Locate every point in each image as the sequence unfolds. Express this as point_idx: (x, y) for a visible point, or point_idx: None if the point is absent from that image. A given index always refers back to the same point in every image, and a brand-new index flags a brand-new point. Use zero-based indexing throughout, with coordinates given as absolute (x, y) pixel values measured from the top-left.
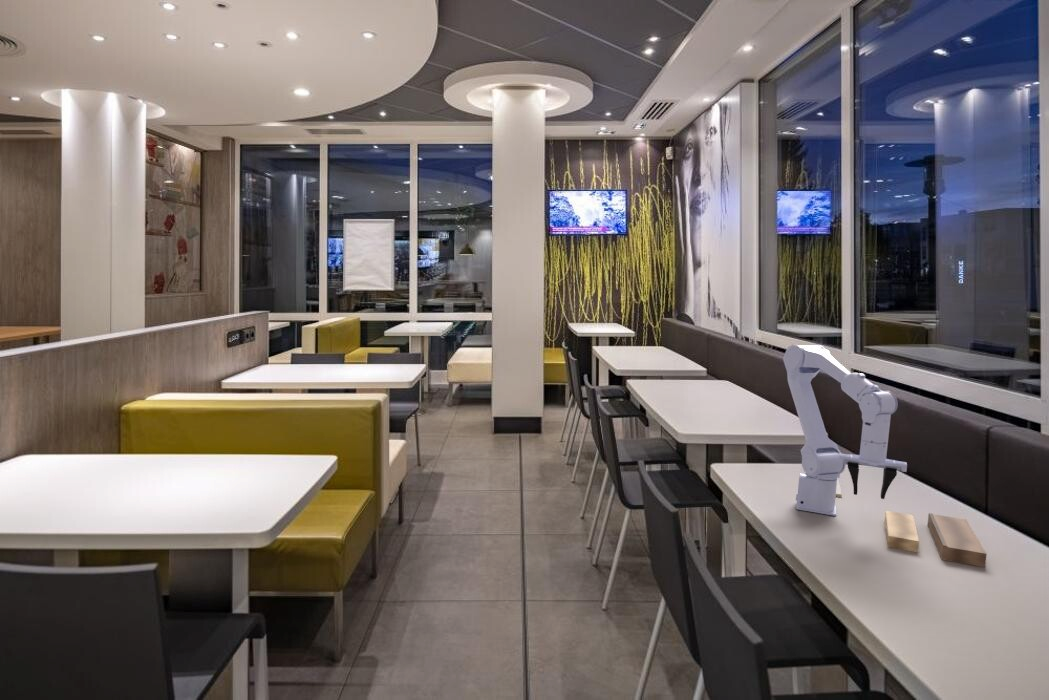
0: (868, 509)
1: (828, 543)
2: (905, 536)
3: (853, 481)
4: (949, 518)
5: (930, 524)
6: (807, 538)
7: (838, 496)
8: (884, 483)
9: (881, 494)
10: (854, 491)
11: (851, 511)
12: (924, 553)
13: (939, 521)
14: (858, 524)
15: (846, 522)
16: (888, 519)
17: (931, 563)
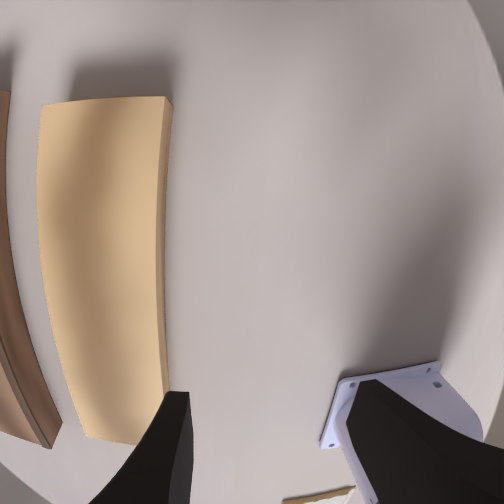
0: (221, 473)
1: (399, 51)
2: (84, 136)
3: (449, 429)
4: (3, 423)
5: (37, 395)
6: (452, 83)
7: (289, 501)
8: (162, 499)
9: (187, 419)
10: (388, 388)
11: (273, 444)
12: None
13: (7, 392)
14: (268, 343)
15: (312, 340)
16: (153, 367)
17: (52, 28)
